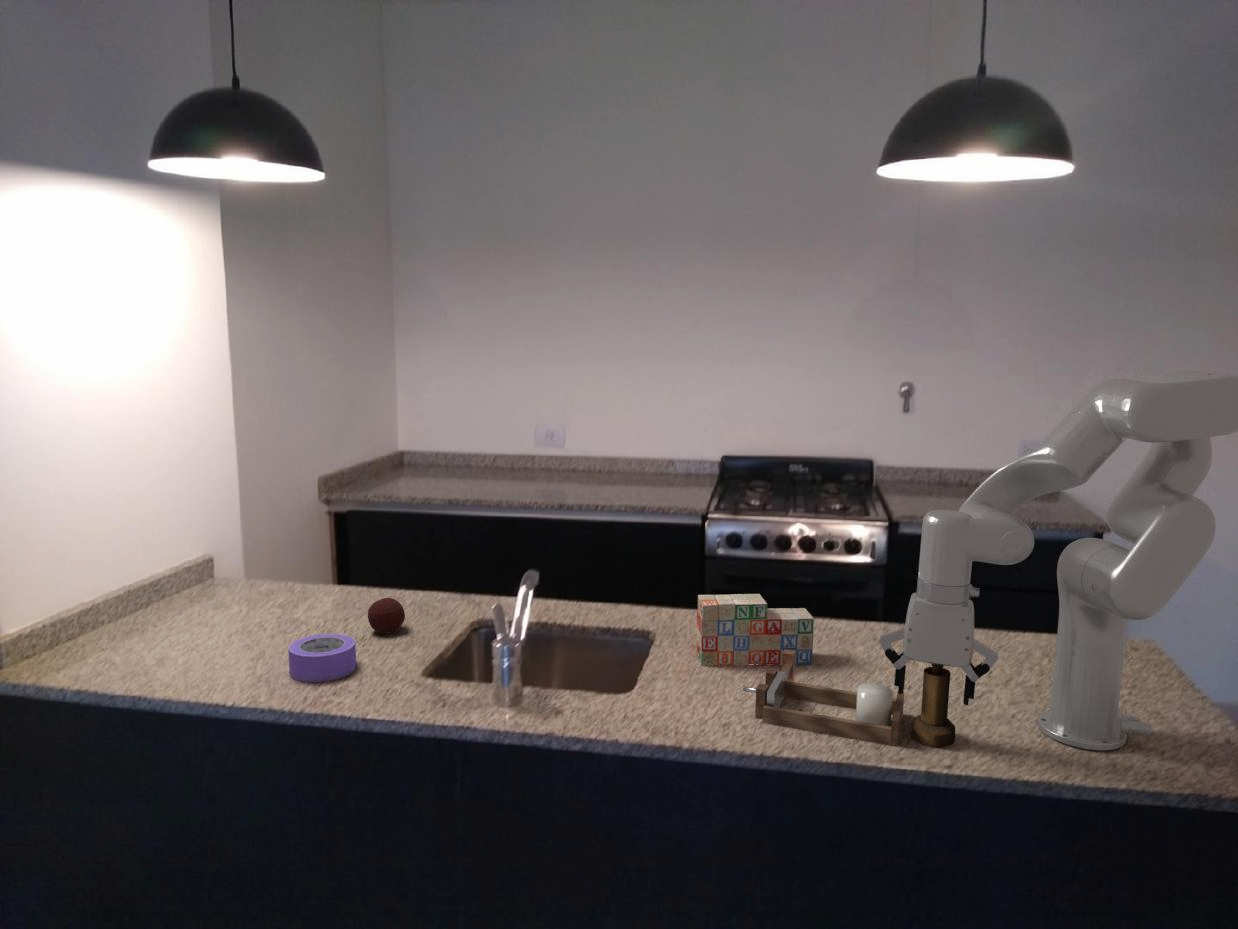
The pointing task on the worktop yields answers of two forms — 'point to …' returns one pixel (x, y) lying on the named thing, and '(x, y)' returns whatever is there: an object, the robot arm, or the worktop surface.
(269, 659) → the worktop surface
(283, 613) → the worktop surface
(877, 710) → the white marshmallow
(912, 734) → the mortar and pestle
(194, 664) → the worktop surface
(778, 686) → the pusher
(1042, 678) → the worktop surface
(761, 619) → the stack of blocks
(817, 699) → the lane
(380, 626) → the dark red ball
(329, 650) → the tape roll
